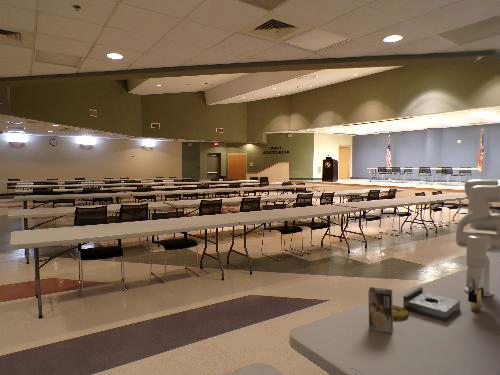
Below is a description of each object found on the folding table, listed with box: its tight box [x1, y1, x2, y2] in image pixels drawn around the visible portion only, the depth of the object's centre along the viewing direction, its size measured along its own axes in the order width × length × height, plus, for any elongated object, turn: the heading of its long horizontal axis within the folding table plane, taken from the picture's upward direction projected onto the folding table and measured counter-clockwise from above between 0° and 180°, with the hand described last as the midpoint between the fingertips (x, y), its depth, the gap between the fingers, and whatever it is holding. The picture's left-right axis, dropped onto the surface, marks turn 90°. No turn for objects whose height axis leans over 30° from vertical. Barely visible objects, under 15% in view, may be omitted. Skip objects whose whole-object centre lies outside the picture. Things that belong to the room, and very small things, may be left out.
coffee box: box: [367, 286, 394, 334], centre depth 137 cm, size 9×6×16 cm
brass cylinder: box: [470, 289, 482, 313], centre depth 153 cm, size 4×4×10 cm
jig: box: [402, 286, 461, 323], centre depth 154 cm, size 18×18×6 cm
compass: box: [393, 304, 409, 321], centre depth 151 cm, size 12×12×2 cm
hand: (475, 299), depth 152 cm, fingers open, 9 cm apart
